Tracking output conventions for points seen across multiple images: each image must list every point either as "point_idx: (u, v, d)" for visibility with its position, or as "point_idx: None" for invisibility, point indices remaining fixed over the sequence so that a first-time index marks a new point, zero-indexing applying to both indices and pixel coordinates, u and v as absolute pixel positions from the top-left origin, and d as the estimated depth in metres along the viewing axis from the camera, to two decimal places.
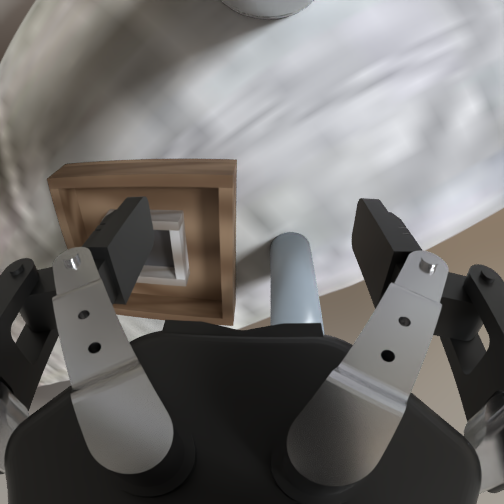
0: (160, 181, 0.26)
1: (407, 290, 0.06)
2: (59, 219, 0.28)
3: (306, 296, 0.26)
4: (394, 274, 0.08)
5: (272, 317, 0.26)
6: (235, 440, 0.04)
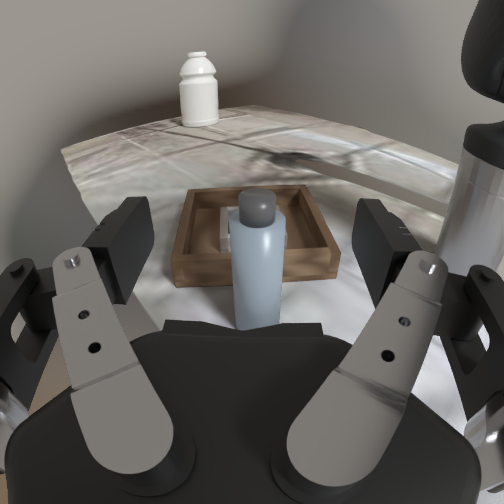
0: (321, 224, 0.39)
1: (407, 290, 0.06)
2: (276, 185, 0.49)
3: (283, 249, 0.25)
4: (394, 274, 0.08)
5: None
6: (236, 440, 0.04)
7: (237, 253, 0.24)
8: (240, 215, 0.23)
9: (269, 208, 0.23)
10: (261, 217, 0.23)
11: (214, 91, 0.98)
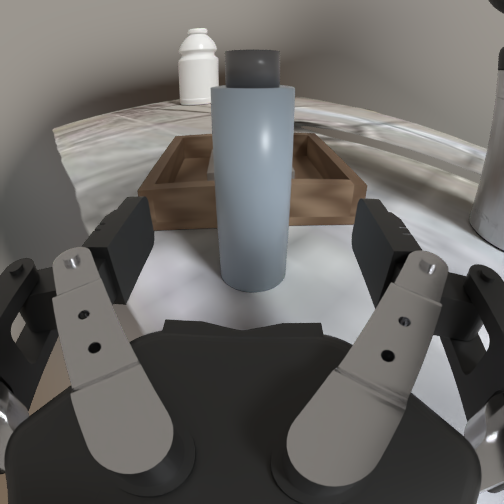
0: (337, 161, 0.30)
1: (407, 290, 0.06)
2: None
3: None
4: (394, 274, 0.08)
5: None
6: (236, 440, 0.04)
7: (221, 131, 0.15)
8: (227, 76, 0.14)
9: (271, 60, 0.13)
10: (258, 71, 0.13)
11: (214, 68, 0.90)
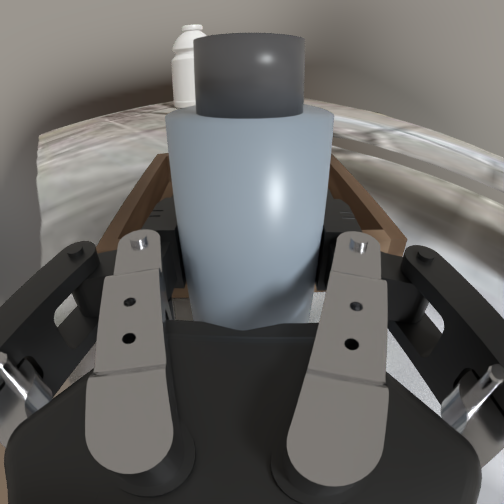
0: (363, 195, 0.23)
1: (348, 275, 0.06)
2: None
3: (325, 204, 0.09)
4: (329, 255, 0.09)
5: None
6: (235, 440, 0.04)
7: (185, 208, 0.08)
8: (197, 90, 0.07)
9: (289, 57, 0.06)
10: (261, 80, 0.06)
11: None
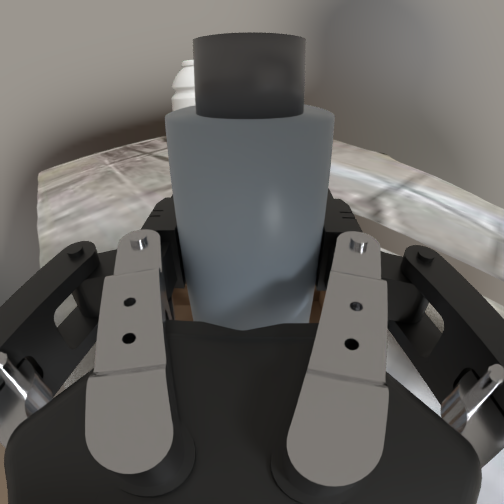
0: None
1: (348, 274, 0.06)
2: None
3: None
4: (329, 255, 0.09)
5: None
6: (236, 440, 0.04)
7: (185, 209, 0.08)
8: (196, 90, 0.07)
9: (289, 56, 0.06)
10: (261, 81, 0.06)
11: None
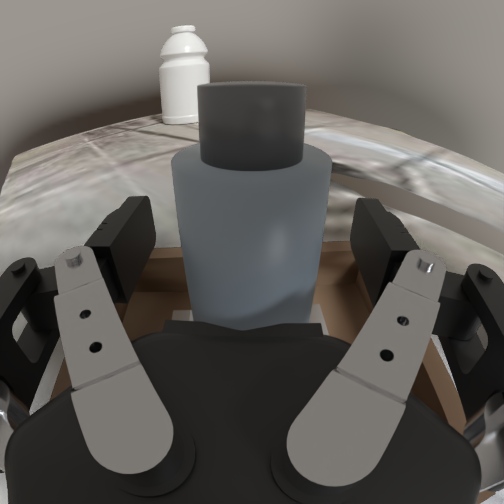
0: (444, 388, 0.11)
1: (405, 289, 0.06)
2: None
3: None
4: (392, 273, 0.08)
5: None
6: (235, 440, 0.04)
7: (192, 251, 0.08)
8: (201, 138, 0.07)
9: (290, 109, 0.07)
10: (263, 135, 0.07)
11: (204, 76, 0.71)
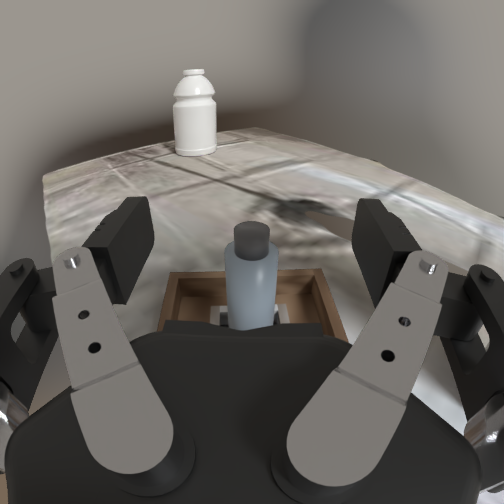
0: None
1: (407, 290, 0.06)
2: (284, 270, 0.39)
3: (276, 279, 0.27)
4: (394, 274, 0.08)
5: None
6: (236, 439, 0.04)
7: (231, 283, 0.25)
8: (235, 248, 0.25)
9: (263, 242, 0.24)
10: (255, 251, 0.24)
11: (211, 115, 0.89)
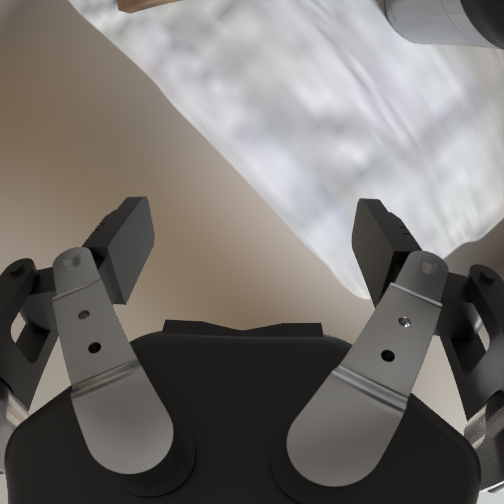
0: None
1: (407, 290, 0.06)
2: None
3: None
4: (394, 274, 0.08)
5: None
6: (235, 440, 0.04)
7: None
8: None
9: None
10: None
11: None
